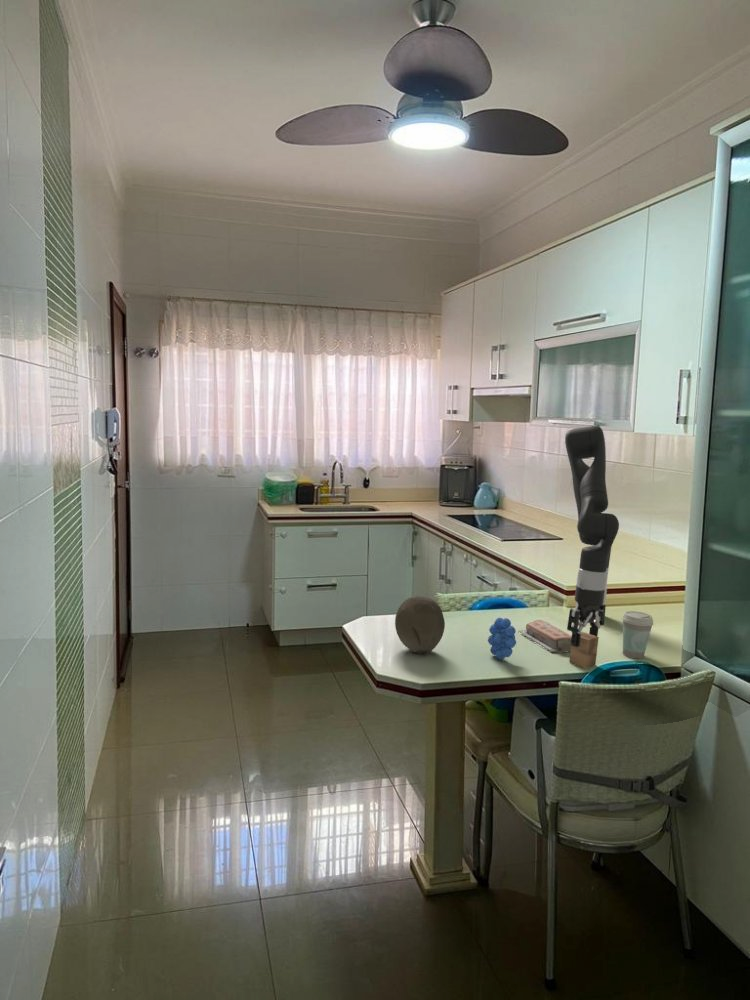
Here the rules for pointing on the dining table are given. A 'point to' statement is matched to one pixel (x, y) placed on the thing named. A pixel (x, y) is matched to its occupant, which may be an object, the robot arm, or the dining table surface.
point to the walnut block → (585, 651)
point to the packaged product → (548, 636)
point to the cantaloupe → (420, 624)
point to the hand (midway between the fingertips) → (583, 643)
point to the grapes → (502, 638)
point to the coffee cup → (636, 633)
